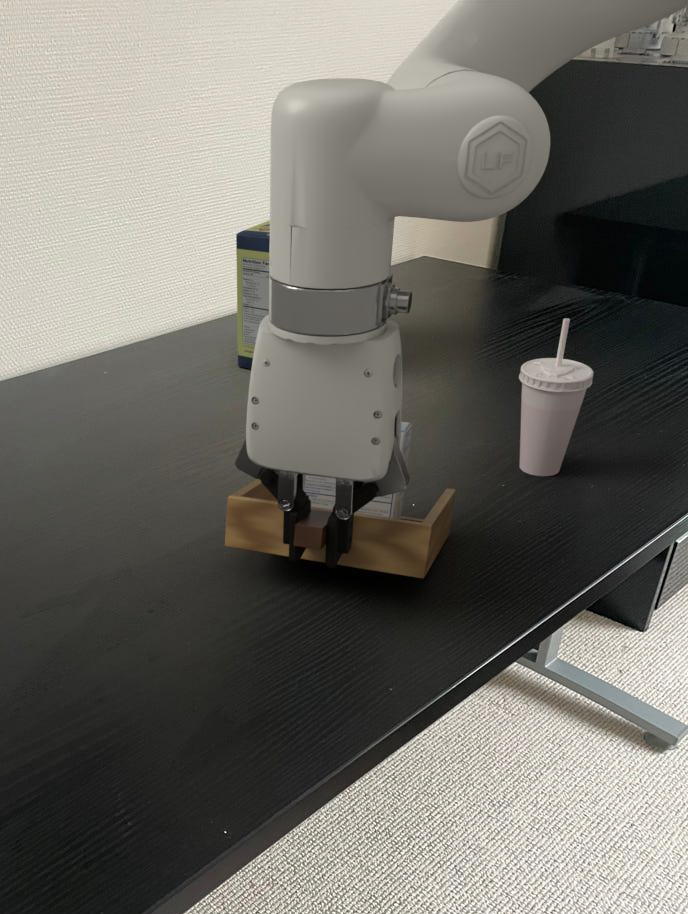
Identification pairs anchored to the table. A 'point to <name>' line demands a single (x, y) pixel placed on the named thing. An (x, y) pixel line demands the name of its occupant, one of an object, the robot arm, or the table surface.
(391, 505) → the medicine box
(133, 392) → the table surface
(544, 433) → the smoothie
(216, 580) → the table surface
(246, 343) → the protein box
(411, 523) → the wooden drawer
